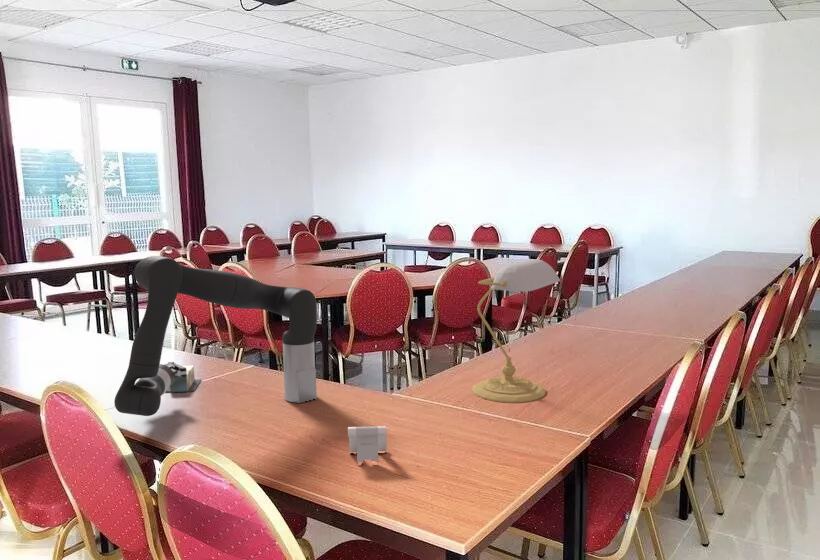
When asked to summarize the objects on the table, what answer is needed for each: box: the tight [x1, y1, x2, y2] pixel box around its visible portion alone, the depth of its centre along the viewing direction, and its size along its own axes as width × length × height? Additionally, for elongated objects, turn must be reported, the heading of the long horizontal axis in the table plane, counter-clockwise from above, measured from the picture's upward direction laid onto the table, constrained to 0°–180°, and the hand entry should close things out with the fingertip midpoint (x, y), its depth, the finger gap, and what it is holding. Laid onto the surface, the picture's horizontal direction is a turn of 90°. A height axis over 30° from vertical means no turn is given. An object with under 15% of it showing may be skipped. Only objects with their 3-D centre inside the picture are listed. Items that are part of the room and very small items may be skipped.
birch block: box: [169, 364, 196, 393], centre depth 207 cm, size 5×5×12 cm
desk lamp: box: [471, 258, 561, 404], centre depth 197 cm, size 31×23×40 cm
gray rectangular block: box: [164, 378, 202, 394], centre depth 208 cm, size 12×9×1 cm
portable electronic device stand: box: [347, 425, 388, 463], centre depth 150 cm, size 9×8×8 cm
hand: (171, 365), depth 194 cm, fingers closed
